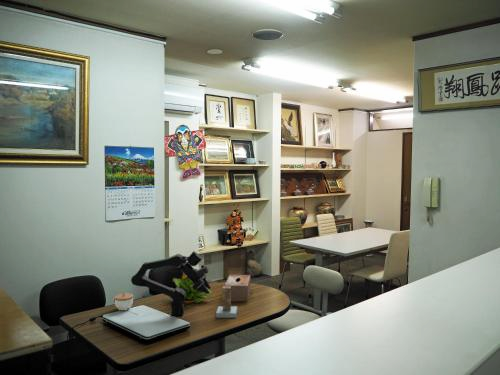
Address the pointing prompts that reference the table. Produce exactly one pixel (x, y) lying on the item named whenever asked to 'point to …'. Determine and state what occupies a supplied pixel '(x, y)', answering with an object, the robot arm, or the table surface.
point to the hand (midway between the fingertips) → (209, 290)
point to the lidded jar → (123, 301)
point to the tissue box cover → (239, 287)
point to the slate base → (226, 312)
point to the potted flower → (190, 290)
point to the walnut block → (226, 298)
